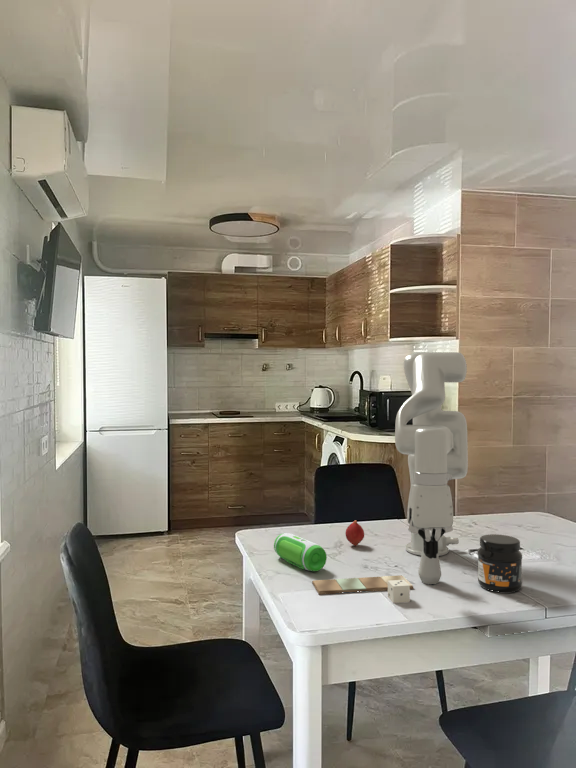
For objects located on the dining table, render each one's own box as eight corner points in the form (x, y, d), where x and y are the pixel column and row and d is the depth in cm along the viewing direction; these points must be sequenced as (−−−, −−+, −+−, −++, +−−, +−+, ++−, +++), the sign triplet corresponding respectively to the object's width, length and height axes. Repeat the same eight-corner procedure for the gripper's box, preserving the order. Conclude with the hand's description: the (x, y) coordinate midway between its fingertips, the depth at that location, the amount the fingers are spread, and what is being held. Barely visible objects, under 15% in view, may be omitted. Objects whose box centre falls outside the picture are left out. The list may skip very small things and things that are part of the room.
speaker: (328, 571, 161) (328, 543, 161) (306, 575, 157) (306, 547, 157) (293, 554, 176) (293, 529, 175) (272, 559, 172) (272, 533, 172)
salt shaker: (428, 587, 148) (428, 535, 147) (413, 580, 153) (413, 530, 152) (446, 583, 150) (446, 532, 150) (431, 576, 155) (431, 527, 155)
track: (402, 578, 154) (402, 575, 154) (413, 588, 147) (413, 585, 147) (312, 583, 151) (312, 580, 151) (318, 594, 143) (318, 591, 143)
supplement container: (470, 587, 147) (471, 539, 147) (487, 576, 156) (487, 531, 155) (513, 597, 141) (513, 547, 141) (528, 585, 149) (528, 538, 149)
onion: (343, 547, 183) (343, 521, 183) (348, 542, 188) (348, 517, 188) (361, 549, 181) (361, 523, 181) (366, 544, 186) (366, 518, 186)
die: (403, 596, 142) (403, 579, 142) (409, 602, 138) (409, 584, 138) (387, 597, 141) (387, 580, 141) (392, 603, 137) (392, 586, 137)
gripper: (453, 476, 145) (453, 551, 145) (395, 478, 143) (395, 554, 143) (467, 481, 138) (467, 560, 138) (406, 482, 136) (406, 562, 135)
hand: (430, 556), depth 140 cm, fingers closed
